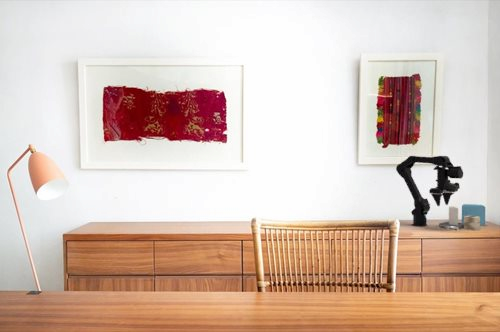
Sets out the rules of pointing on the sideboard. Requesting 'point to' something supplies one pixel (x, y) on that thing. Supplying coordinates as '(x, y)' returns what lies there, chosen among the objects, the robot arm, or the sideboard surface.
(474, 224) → the birch block
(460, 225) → the tray
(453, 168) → the robot arm
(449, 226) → the cylinder
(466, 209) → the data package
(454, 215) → the cream block
